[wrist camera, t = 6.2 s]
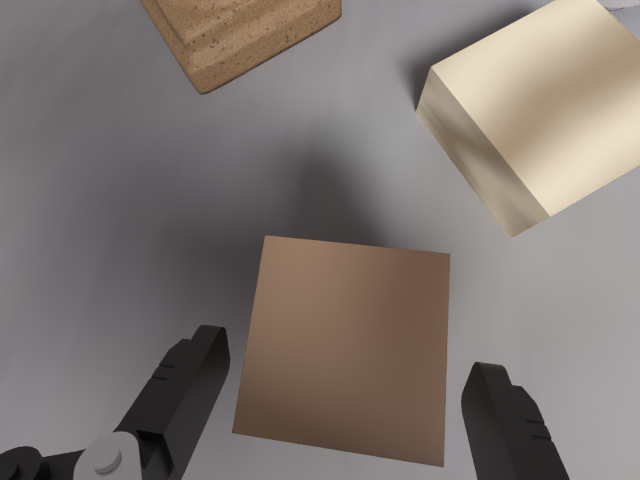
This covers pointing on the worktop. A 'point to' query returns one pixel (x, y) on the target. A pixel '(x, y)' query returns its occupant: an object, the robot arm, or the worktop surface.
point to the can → (618, 4)
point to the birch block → (539, 110)
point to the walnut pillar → (348, 349)
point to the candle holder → (235, 33)
